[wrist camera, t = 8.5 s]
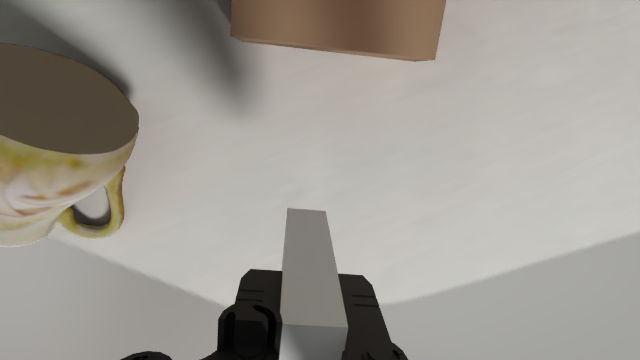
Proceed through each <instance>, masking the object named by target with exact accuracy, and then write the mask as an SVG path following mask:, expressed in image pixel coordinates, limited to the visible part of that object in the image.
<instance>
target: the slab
mask: <svg viewBox="0 0 640 360" xmlns="http://www.w3.org/2000/svg"><path fill="white" fill-rule="evenodd" d="M445 4H446V0H232V4H231V33H230V36H232V37H234V38H236V39H238V40H240V41H243V42H251V43H259V44H268V45H276V46H285V47H294V48H302V49H311V50H319V51H328V52H337V53H345V54H354V55H362V56H371V57H380V58H388V59H397V60H405V61H414V62H415V61H427V60H435V57H436V51H437V46H438V41H439V36H440V30H441V25H442V20H443V14H444V9H445Z"/></svg>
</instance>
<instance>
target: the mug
mask: <svg viewBox="0 0 640 360" xmlns="http://www.w3.org/2000/svg"><path fill="white" fill-rule="evenodd" d="M138 125H139V115H138V112H137V110H136V109H135V108H134V106H133V105H132V104H131V103H130V101H129V100H128V99H127V98H126V97H125V96H124V95H123V94H122V93H121V92H120V91H119V89H118V88H117V87H116V86H115V85H114V84H113V83H112V82H110V81H109V80H108V79H107V78H105V77H104V76H102V75H101V74H99V73H98V72H97V71H95V70H93V69H91V68H89V67H87V66H85V65H83V64H81V63H79V62H77V61H74V60H71V59H70V58H68V57H64V56H62V55H58V54H55V53H52V52H48V51H45V50H41V49H36V48H31V47H26V46H21V45H15V44H7V43H0V246H2V247H18V246H25V245H29V244H33V243H36V242H38V241H40V240H42V239H43V238H45V237H46V236H47V235H48V234H49V233H50V232H51V231H52V230H53V229H54V227H55V226H56V225H61V226H63V227H64V228H65V229H66V230H67V231H68V232H69V233H70V234H71V235H73V236H76V237H79V238H83V239H102V238H106V237H109V236H111V235H113V234H114V233H115V232H116V231H117V230H118V229H119V228H120V226H121V224H122V222H123V219H124V206H123V198H122V181H123V176H124V172H125V164H126V162H127V160H128V159H129V157H130V155H131V153H132V150H133V148H134V145H135V141H136V138H137V135H138V129H139V127H138ZM103 186H104V187H105V189H106V193H107V196H108V200H109V203H110V207H111V219H110V221H109V222H108V223H107V224H105V225H103V226H92V225H86V224H81V223H78V222H77V221H75V220H74V217H73V209H72V207H71V205H73V204H74V203H76V202H78V201H80V200H82V199H83V198H85V197H87V196H89V195H90V194H92V193H94V192H96V191H97V190H99V189H100V188H101V187H103Z"/></svg>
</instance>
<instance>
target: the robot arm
mask: <svg viewBox="0 0 640 360" xmlns="http://www.w3.org/2000/svg"><path fill="white" fill-rule="evenodd" d="M121 360H172V359H171V358H170V357H169V356H167V355H165V354H163V353H161V352H152V351H146V352H141V353H136V354H132V355H130V356H128V357H126V358H123V359H121ZM201 360H408V359H407V357H406V355H405V354H404V352H403V351H402V350H401V349H400V348H399V347H398V346H396V345H395V344H394V343H392V342H391V340H390V337H389V334H388V331H387V328H386V325H385V322H384V319H383V316H382V313H381V311H380V308H379V304H378V301H377V298H376V295H375V293H374V290H373V287H372V285H371V284H370V283H369V282H368V281H367V280H366V278H365V277H364V276H363V275H350V274H338V272H337V267H336V262H335V257H334V252H333V247H332V241H331V236H330V231H329V226H328V221H327V216H326V211H316V210H304V209H292V208H287V219H286V229H285V240H284V251H283V262H282V271H272V270H257V269H250V270H249V271H248V272H247V273H246V274H245V275H244V276H243V277H242V278H241V281H240V285H239V289H238V292H237V296H236V301H235V304H233V305H231V306H230V307H228V308H227V309H225V310H224V311H223V312H222V314H221V316H220V317H219V319H218V346H217V351H215V352H214V353H212V354H211V355H209V356H207V357H205V358H203V359H201Z"/></svg>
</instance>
